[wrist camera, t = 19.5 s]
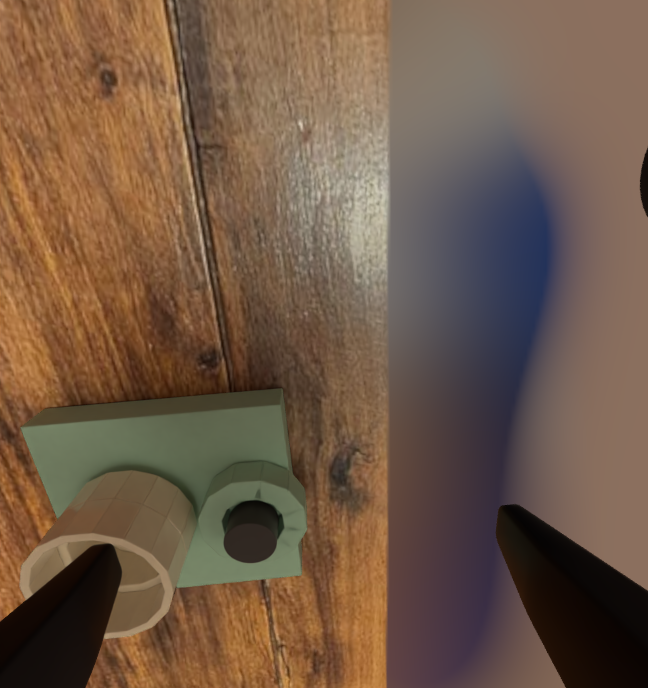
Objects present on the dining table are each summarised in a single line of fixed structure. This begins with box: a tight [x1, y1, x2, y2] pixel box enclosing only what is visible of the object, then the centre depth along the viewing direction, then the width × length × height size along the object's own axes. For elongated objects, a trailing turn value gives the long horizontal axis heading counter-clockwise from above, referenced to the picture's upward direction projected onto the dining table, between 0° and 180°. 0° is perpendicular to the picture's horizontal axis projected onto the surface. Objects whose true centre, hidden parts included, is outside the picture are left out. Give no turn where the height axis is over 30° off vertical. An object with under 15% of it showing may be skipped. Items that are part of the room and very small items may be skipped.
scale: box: [20, 388, 307, 588], centre depth 21 cm, size 14×12×4 cm
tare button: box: [223, 500, 279, 563], centre depth 19 cm, size 3×3×2 cm
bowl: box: [19, 470, 197, 639], centre depth 18 cm, size 6×6×4 cm
